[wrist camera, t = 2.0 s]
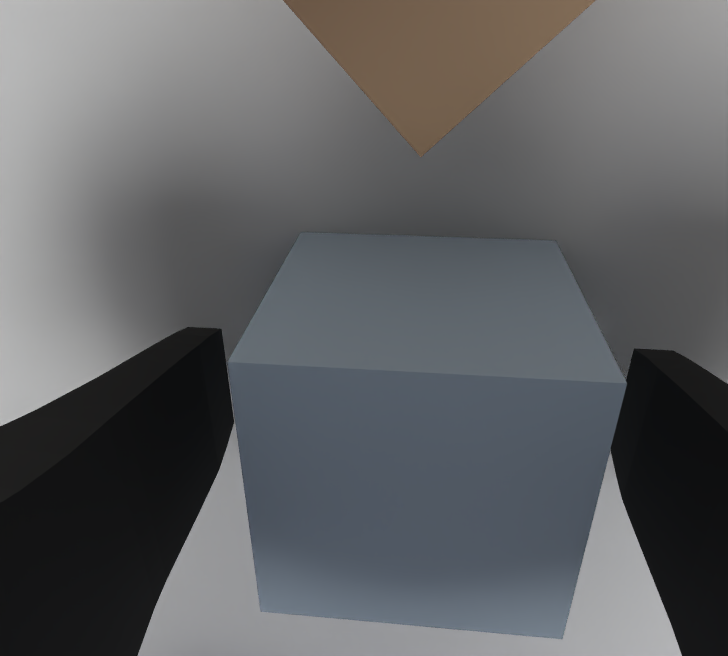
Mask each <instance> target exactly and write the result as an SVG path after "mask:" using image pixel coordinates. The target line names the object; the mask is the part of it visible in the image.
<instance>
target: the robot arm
mask: <svg viewBox="0 0 728 656" xmlns="http://www.w3.org/2000/svg"><path fill="white" fill-rule="evenodd" d="M626 382H627V386H626V390H625V394H624V397H623V401H622V405H621V409H620V413H619V417H618V421H617V425H616V429H615V433H614V437H613V441H612V445H611V454H612V458H613V463H614V468H615V472H616V477H617V481H618V485H619V489H620V493H621V497H622V500H623V503H624V505H625V508H626V511H627V513H628V516H629V519H630V521H631V524H632V526H633V529H634V531H635V534H636V537H637V539H638V542H639V544H640V547H641V549H642V552H643V554H644V557H645V559H646V562H647V564H648V567H649V570H650V572H651V575H652V577H653V580H654V582H655V585H656V587H657V590H658V592H659V595H660V597H661V600H662V602H663V605H664V607H665V610H666V612H667V615H668V617H669V620H670V623H671V625H672V628H673V631H674V634H675V637H676V640H677V642H678V645H679V648H680V651H681V654H682V656H728V384H727V383H725V382H724V381H722V380H721V379H719V378H718V377H716V376H714V375H713V374H711V373H710V372H708V371H707V370H705V369H704V368H702V367H700V366H699V365H697V364H696V363H694V362H692V361H691V360H689V359H687V358H686V357H684V356H682V355H680V354H678V353H676V352H675V351H671V350H650V349H634V351H633V355H632V359H631V363H630V367H629V371H628V375H627V379H626ZM233 424H234V418H233V411H232V403H231V396H230V389H229V381H228V374H227V367H226V359H225V352H224V345H223V337H222V330H221V329H216V328H195V327H187V328H185V329H183V330H180V331H178V332H176V333H174V334H172V335H171V336H169V337H167V338H165V339H163V340H161V341H160V342H158V343H156V344H154V345H153V346H151V347H149V348H147V349H146V350H144V351H142V352H141V353H139V354H137V355H135V356H134V357H132V358H130V359H129V360H127V361H125V362H123V363H122V364H120V365H118V366H116V367H115V368H113V369H111V370H109V371H108V372H106V373H104V374H103V375H101V376H99V377H97V378H95V379H94V380H92V381H90V382H88V383H86V384H84V385H82V386H80V387H79V388H77V389H75V390H73V391H71V392H69V393H67V394H65V395H63V396H62V397H60V398H58V399H56V400H54V401H52V402H50V403H48V404H46V405H44V406H43V407H41V408H39V409H37V410H35V411H33V412H30V413H28V414H26V415H24V416H22V417H20V418H18V419H16V420H13V421H11V422H9V423H7V424H5V425H2V426H0V656H137V655H138V652H139V650H140V647H141V644H142V641H143V638H144V636H145V633H146V630H147V627H148V625H149V622H150V619H151V616H152V614H153V611H154V608H155V605H156V603H157V601H158V599H159V596H160V594H161V592H162V589H163V587H164V585H165V582H166V580H167V578H168V576H169V574H170V572H171V570H172V567H173V565H174V563H175V561H176V559H177V557H178V555H179V553H180V551H181V549H182V547H183V545H184V543H185V541H186V539H187V536H188V534H189V532H190V530H191V528H192V526H193V524H194V522H195V520H196V518H197V516H198V514H199V512H200V510H201V508H202V505H203V503H204V501H205V499H206V497H207V495H208V493H209V491H210V488H211V486H212V484H213V482H214V480H215V478H216V476H217V473H218V471H219V469H220V466H221V463H222V460H223V457H224V454H225V451H226V447H227V444H228V441H229V437H230V434H231V431H232V427H233Z"/></svg>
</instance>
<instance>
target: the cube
mask: <svg viewBox="0 0 728 656" xmlns="http://www.w3.org/2000/svg"><path fill="white" fill-rule="evenodd" d="M227 363H228V370H229V378H230V385H231V393H232V400H233V408H234V415H235V423H236V430H237V438H238V445H239V453H240V460H241V468H242V475H243V483H244V490H245V498H246V505H247V513H248V520H249V528H250V535H251V543H252V550H253V558H254V565H255V573H256V580H257V588H258V595H259V603H260V610H261V612H272V613H283V614H294V615H305V616H316V617H327V618H338V619H348V620H359V621H370V622H381V623H392V624H403V625H414V626H425V627H436V628H447V629H458V630H469V631H479V632H490V633H501V634H512V635H523V636H534V637H545V638H556V639H562V638H563V634H564V630H565V626H566V622H567V619H568V615H569V611H570V607H571V603H572V599H573V595H574V591H575V587H576V583H577V579H578V575H579V571H580V567H581V563H582V559H583V555H584V551H585V547H586V544H587V540H588V536H589V532H590V528H591V524H592V520H593V516H594V512H595V508H596V504H597V500H598V496H599V492H600V488H601V484H602V480H603V476H604V472H605V469H606V465H607V461H608V457H609V453H610V449H611V445H612V441H613V437H614V433H615V429H616V425H617V421H618V417H619V413H620V409H621V405H622V401H623V397H624V394H625V390H626V386H627V382H626V380H625V378H624V376H623V374H622V372H621V370H620V368H619V366H618V364H617V362H616V360H615V358H614V356H613V354H612V352H611V350H610V348H609V346H608V344H607V342H606V340H605V338H604V336H603V334H602V332H601V330H600V328H599V326H598V324H597V322H596V320H595V318H594V316H593V314H592V312H591V310H590V308H589V306H588V304H587V302H586V300H585V298H584V296H583V294H582V292H581V290H580V288H579V286H578V284H577V282H576V280H575V278H574V276H573V274H572V272H571V270H570V268H569V266H568V264H567V262H566V260H565V258H564V256H563V254H562V252H561V250H560V248H559V246H558V244H557V242H556V240H526V239H496V238H466V237H437V236H407V235H377V234H347V233H317V232H301V233H300V234H299V236H298V238H297V240H296V241H295V243H294V245H293V247H292V249H291V250H290V252H289V254H288V256H287V257H286V259H285V261H284V263H283V265H282V266H281V268H280V270H279V272H278V273H277V275H276V277H275V279H274V280H273V282H272V284H271V286H270V288H269V289H268V291H267V293H266V295H265V296H264V298H263V300H262V302H261V303H260V305H259V307H258V309H257V311H256V312H255V314H254V316H253V318H252V319H251V321H250V323H249V325H248V326H247V328H246V330H245V332H244V334H243V335H242V337H241V339H240V341H239V342H238V344H237V346H236V348H235V350H234V351H233V353H232V355H231V357H230V358H229V360H228V362H227Z"/></svg>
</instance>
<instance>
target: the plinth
mask: <svg viewBox="0 0 728 656" xmlns="http://www.w3.org/2000/svg"><path fill="white" fill-rule="evenodd" d="M283 1H284V2H285V3H286V4H287V5H288V6H289V8H290V9H291V10H292V11H293V12H294V13H295V14H296V16H297V17H298V18H299V19H300V20H301V21H302V22H303V24H304V25H305V26H306V27H307V28H308V29H309V30H310V32H311V33H312V34H313V35H314V36H315V37H316V38H317V40H318V41H319V42H320V43H321V44H322V45H323V46H324V48H325V49H326V50H327V51H328V52H329V53H330V54H331V56H332V57H333V58H334V59H335V60H336V61H337V62H338V64H339V65H340V66H341V67H342V68H343V69H344V70H345V72H346V73H347V74H348V75H349V76H350V77H351V78H352V79H353V81H354V82H355V83H356V84H357V85H358V86H359V87H360V89H361V90H362V91H363V92H364V93H365V94H366V95H367V97H368V98H369V99H370V100H371V101H372V102H373V103H374V105H375V106H376V107H377V108H378V109H379V110H380V111H381V113H382V114H383V115H384V116H385V117H386V118H387V119H388V121H389V122H390V123H391V124H392V125H393V126H394V127H395V129H396V130H397V131H398V132H399V133H400V134H401V135H402V137H403V138H404V139H405V140H406V141H407V142H408V143H409V145H410V146H411V147H412V148H413V149H414V150H415V151H416V152H417V154H418V155H419V156H420V157H422V156H423V155H424V154H425V153H426V152H427V151H428V150H429V149H431V148H432V147H433V146H434V145H435V144H436V143H437V142H438V141H439V140H441V139H442V138H443V137H444V136H445V135H446V134H447V133H448V132H449V131H451V130H452V129H453V128H454V127H455V126H456V125H457V124H458V123H460V122H461V121H462V120H463V119H464V118H465V117H466V116H467V115H468V114H470V113H471V112H472V111H473V110H474V109H475V108H476V107H477V106H478V105H480V104H481V103H482V102H483V101H484V100H485V99H486V98H487V97H488V96H490V95H491V94H492V93H493V92H494V91H495V90H496V89H497V88H498V87H500V86H501V85H502V84H503V83H504V82H505V81H506V80H507V79H509V78H510V77H511V76H512V75H513V74H514V73H515V72H516V71H517V70H519V69H520V68H521V67H522V66H523V65H524V64H525V63H526V62H527V61H529V60H530V59H531V58H532V57H533V56H534V55H535V54H536V53H537V52H539V51H540V50H541V49H542V48H543V47H544V46H545V45H546V44H547V43H549V42H550V41H551V40H552V39H553V38H554V37H555V36H556V35H558V34H559V33H560V32H561V31H562V30H563V29H564V28H565V27H566V26H568V25H569V24H570V23H571V22H572V21H573V20H574V19H575V18H576V17H578V16H579V15H580V14H581V13H582V12H583V11H584V10H585V9H586V8H588V7H589V6H590V5H591V4H592V3H593V2H594V1H595V0H283Z"/></svg>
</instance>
